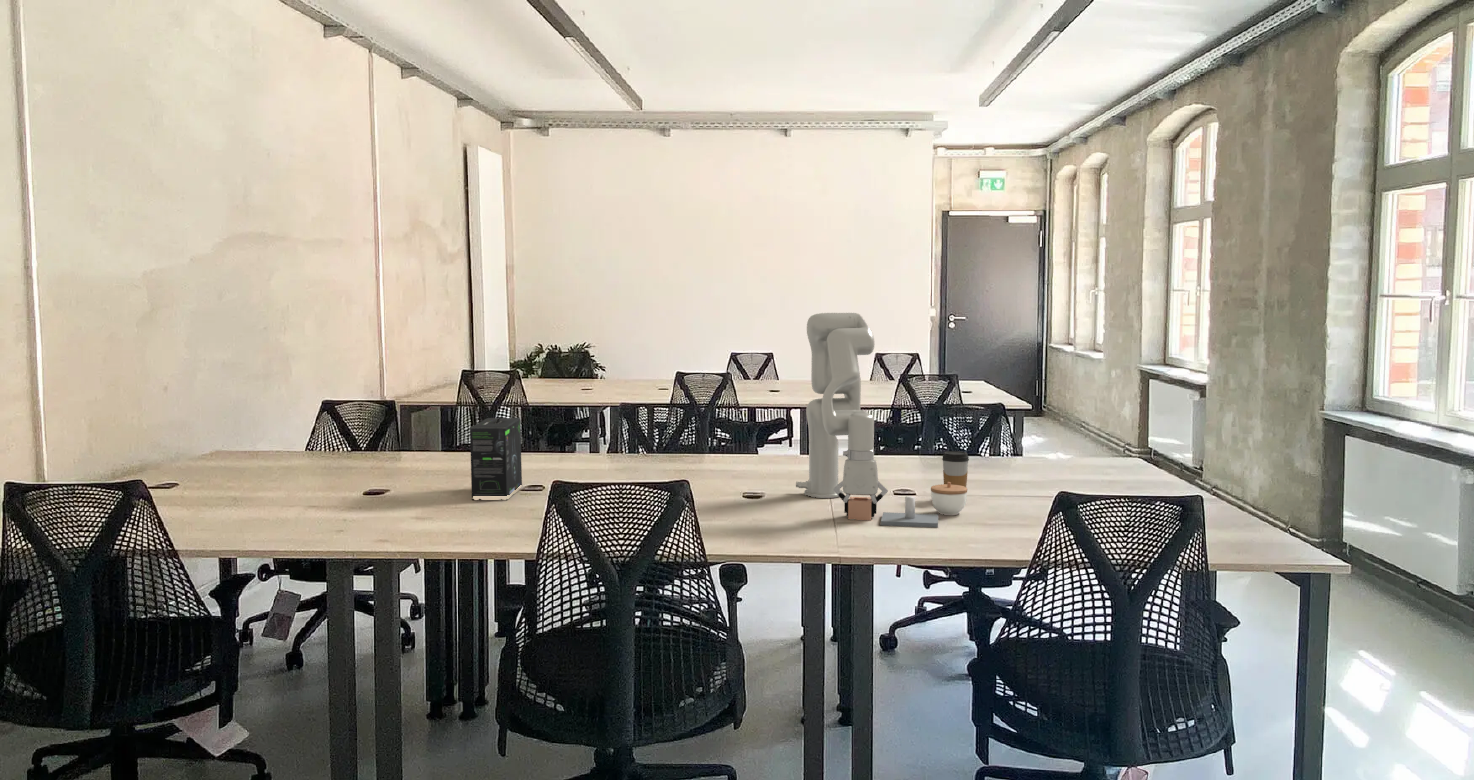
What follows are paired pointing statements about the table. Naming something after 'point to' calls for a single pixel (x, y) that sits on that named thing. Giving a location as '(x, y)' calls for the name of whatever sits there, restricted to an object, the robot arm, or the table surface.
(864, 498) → the collar
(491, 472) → the headset box
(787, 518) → the table surface
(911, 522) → the board
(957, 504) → the lidded jar
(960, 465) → the coffee cup
